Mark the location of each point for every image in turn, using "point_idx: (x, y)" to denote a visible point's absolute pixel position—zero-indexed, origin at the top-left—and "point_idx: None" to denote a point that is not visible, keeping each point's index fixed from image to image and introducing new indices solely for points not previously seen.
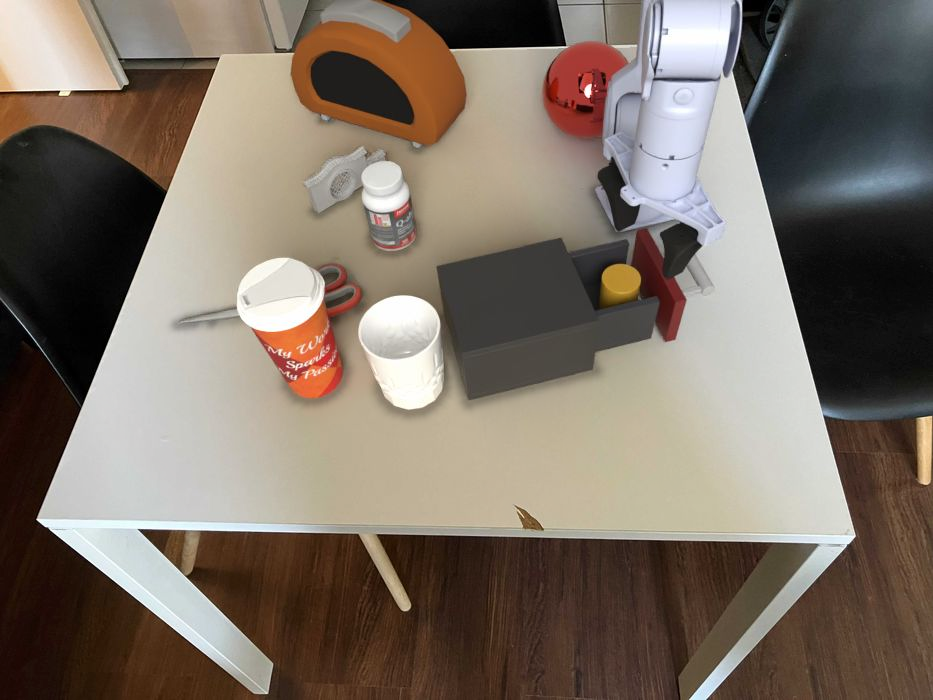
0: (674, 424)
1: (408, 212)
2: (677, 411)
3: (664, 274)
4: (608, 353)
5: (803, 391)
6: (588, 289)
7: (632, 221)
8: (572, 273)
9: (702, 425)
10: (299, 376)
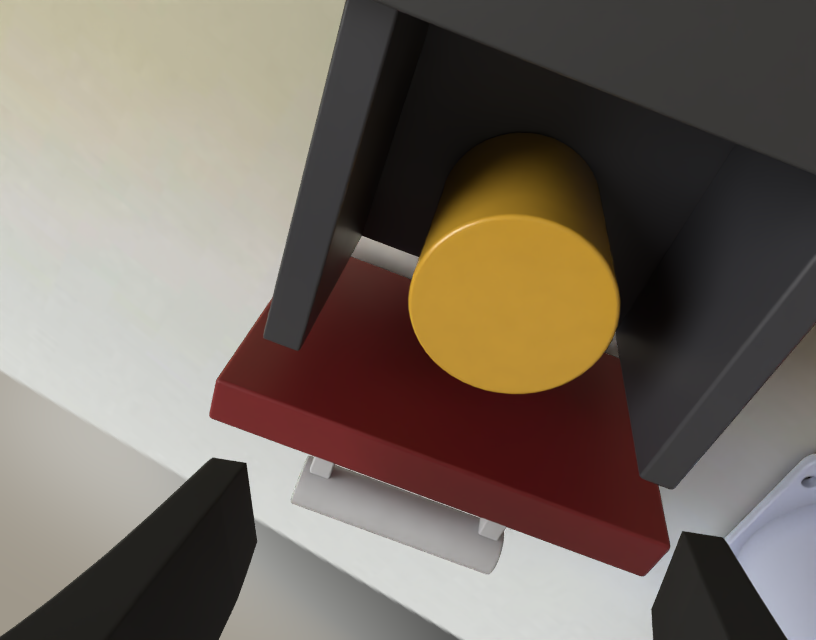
0: (40, 33)
1: None
2: (83, 80)
3: (212, 477)
4: None
5: (41, 385)
6: (685, 187)
7: (661, 627)
8: (721, 89)
9: (13, 109)
10: None
